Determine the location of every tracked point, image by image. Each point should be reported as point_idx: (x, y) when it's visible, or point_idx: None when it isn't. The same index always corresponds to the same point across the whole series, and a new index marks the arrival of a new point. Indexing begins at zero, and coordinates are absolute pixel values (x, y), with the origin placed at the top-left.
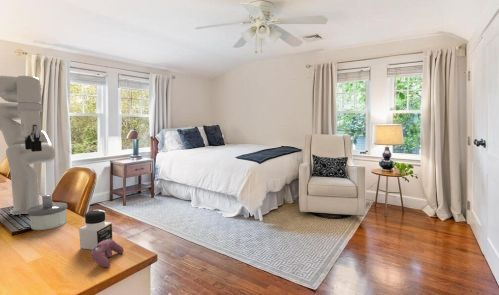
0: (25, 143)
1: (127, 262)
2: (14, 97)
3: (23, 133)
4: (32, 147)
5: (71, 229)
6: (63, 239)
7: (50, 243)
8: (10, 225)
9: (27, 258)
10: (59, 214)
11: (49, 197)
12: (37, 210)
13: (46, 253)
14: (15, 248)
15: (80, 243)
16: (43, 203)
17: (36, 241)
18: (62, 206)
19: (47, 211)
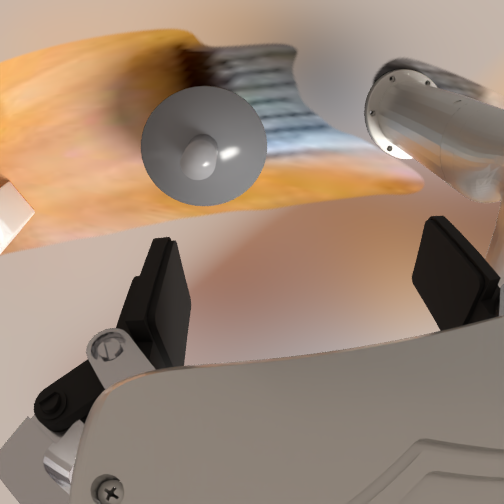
0: (466, 253)
1: None
2: None
3: (382, 384)
4: (146, 271)
5: (122, 177)
6: (65, 155)
7: (58, 129)
8: (287, 45)
9: (13, 92)
10: None
11: (182, 168)
12: (184, 116)
13: (15, 123)
14: (73, 60)
15: (2, 186)
16: (192, 141)
17: (87, 99)
18: (179, 189)
19: (147, 143)
